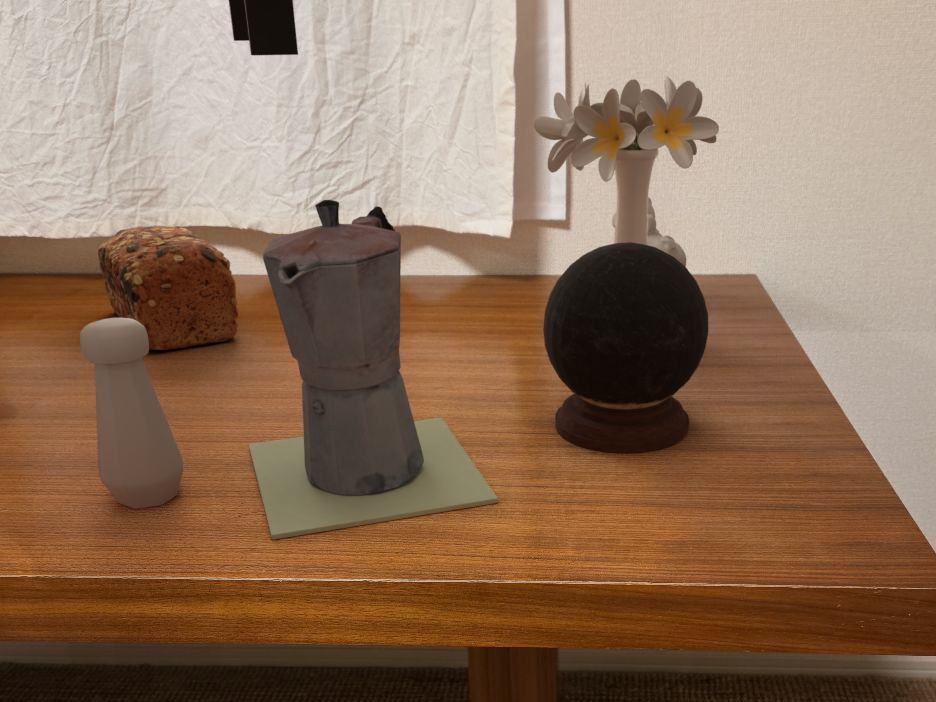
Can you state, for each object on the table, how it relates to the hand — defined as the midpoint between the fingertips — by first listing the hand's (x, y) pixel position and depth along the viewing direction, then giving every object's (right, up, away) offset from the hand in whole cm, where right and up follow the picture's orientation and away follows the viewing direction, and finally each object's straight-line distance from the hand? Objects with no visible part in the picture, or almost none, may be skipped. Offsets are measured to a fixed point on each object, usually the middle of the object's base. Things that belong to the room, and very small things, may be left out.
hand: (263, 47), depth 66 cm
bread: (-22, -9, +43) cm, 49 cm away
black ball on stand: (+25, -23, +19) cm, 39 cm away
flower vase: (+26, -13, +37) cm, 47 cm away
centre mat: (+5, -27, +11) cm, 30 cm away
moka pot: (+5, -27, +11) cm, 29 cm away
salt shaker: (-11, -29, +8) cm, 32 cm away
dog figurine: (+30, -4, +53) cm, 61 cm away
